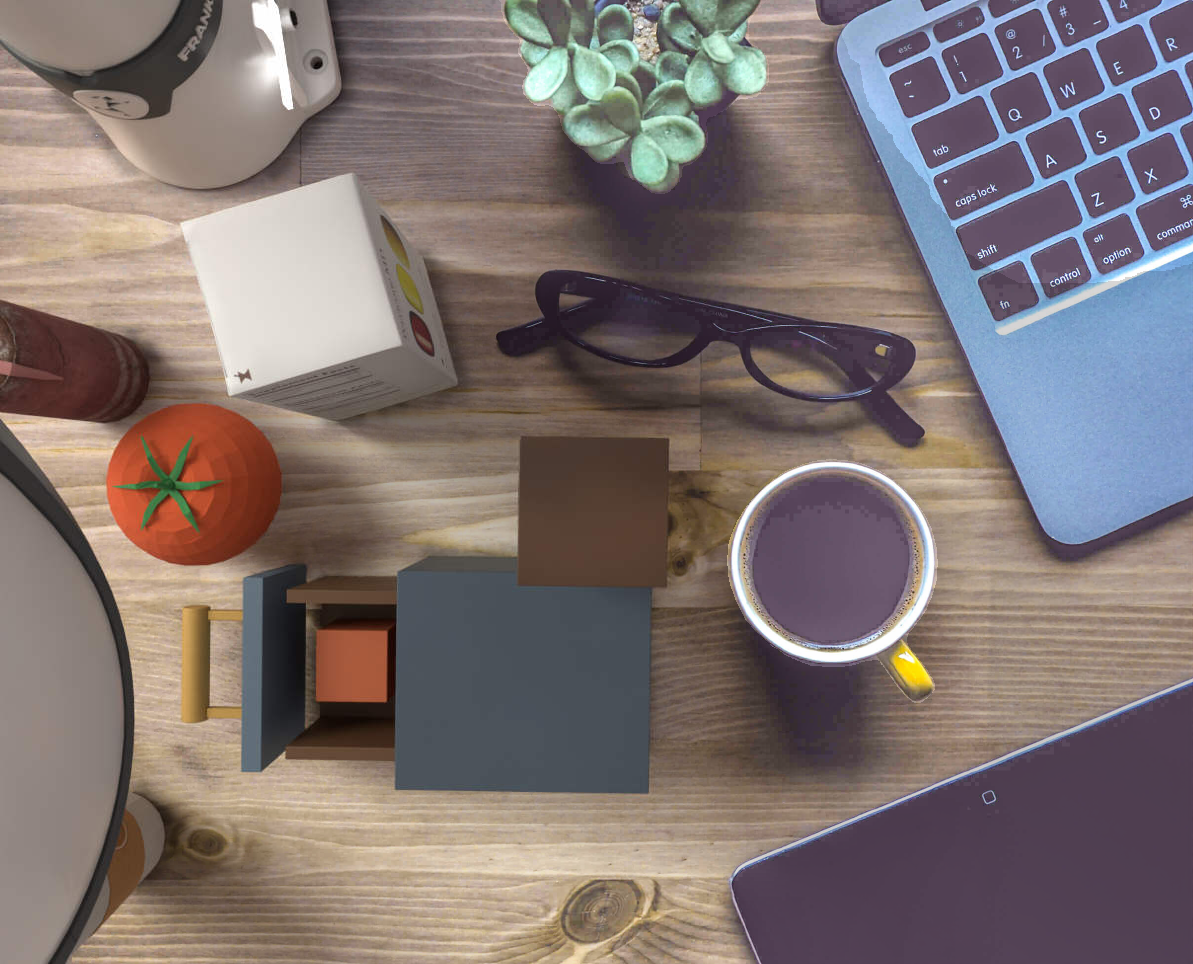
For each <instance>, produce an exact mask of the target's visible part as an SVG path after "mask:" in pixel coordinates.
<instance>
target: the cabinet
mask: <svg viewBox="0 0 1193 964" xmlns="http://www.w3.org/2000/svg"><path fill="white" fill-rule="evenodd" d="M517 557H518V556H480V555H479V556H477V555H475V556H474V555H473V556H470V555H469V556H468V555H429V556H427V557H424V558H422V559H420V560H418V561H416V562H414V563H412V564H410V565H408V566H406V567H403V568H402V569H399V570H397V571H396V576H397V629H396V715H395V761H394V790H395V791H431V792H432V791H433V792H434V791H435V792H436V791H437V792H439V791H440V792H443V791H444V792H496V793H497V792H500V793H558V794H559V793H562V794H563V793H565V794H566V793H567V794H569V793H570V794H623V795H624V794H625V795H626V794H627V795H628V794H631V795H634V794H635V795H648V794H649V793H650V743H651V741H650V738H651V737H650V736H651V735H650V734H651V680H652V679H651V677H652V675H651V672H652V670H651V668H652V665H651V664H652V608H653V607H652V603H653V600H652V599H653V598H652V597H653V588H637V587H567V586H518V585H517Z"/></svg>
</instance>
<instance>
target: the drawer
mask: <svg viewBox="0 0 1193 964" xmlns="http://www.w3.org/2000/svg"><path fill="white" fill-rule="evenodd" d="M307 578H308V565H307V563H288V564H284V565H282V566H277V567H274V568H271V569H268V570H263V571H260V572H257V573H254V574H249V575H247V576H244V577H242V609H212V607H211V606H210V605H208V604H191V605H185V606H182V608H181V689H180V691H181V696H180V697H181V698H180V699H181V701H180V702H181V703H180V705H181V706H180V710H181V711H180V720H181V721H180V722H182V723H185V724H197V723H203V722H206V721H208V720H209V719H241V727H240V728H241V730H240V731H241V732H240V733H241V734H240V736H241V737H240V739H241V741H240V742H241V743H240V745H241V746H240V747H241V748H240V757H241V758H240V760H241V761H240V772H241V773H262V772H263V771H264V770H266V769H267V768H269V766H270V765H271V764H273V762H275V761H276V760H277V759H278V758H279V757H280V756H281V755H282V754H285V755H284V757H285V760H293V761H295V760H299V761H301V760H302V761H308V760H309V761H354V762H355V761H359V762H364V761H365V762H367V761H368V762H395V715H396V693H395V694H394V696H393V697H392V698H391V699H390V700H389V701H388V702H387V703H379V702H319V717H318V718H317V719H316V720H314V721H313V722H312V723H311V724H310V725H308V727H306V683H307V680H306V678H307V675H306V674H307V671H306V670H307V604H318V605H319V604H320V615H321V616H320V628H321V627H323V626H325V625H327V624H329V623H331V622H332V621H334V620H336V619H338V618H345V619H397V575H395V576H391V575H390V576H389V575H388V576H387V575H384V576H383V575H329V574H327V575H323V576H320V577H318V578H315V579H311V580H309V581H308V579H307ZM211 621H221V622H222V621H224V622H225V621H227V622H229V621H230V622H231V621H232V622H242V628H241V629H242V632H241V633H242V634H241V635H242V637H241V638H242V641H241V642H242V644H241V647H242V649H241V706H238V705H237V706H235V705H234V706H233V705H232V706H230V705H229V706H227V705H211V626H212V625H211V624H212V623H211Z"/></svg>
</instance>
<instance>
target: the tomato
mask: <svg viewBox="0 0 1193 964" xmlns="http://www.w3.org/2000/svg"><path fill="white" fill-rule="evenodd" d="M282 473H283V472H282V470H281V465H280V461H279V458H278V456H277V454H276V451H275V449H274V446H273V444H272V443H271V442H270V441H269V439H268V438H267V437H266V434H264V432H263V431H262V430H261V429H260V428H258V426H256V425H255V424H254V422H252V421H251V420H249V419H248V418H246V417H244V416H243V415H241V414H240V413H238V412H236V411H233V410H231V409H228V408H225V407H223V406H220V405H217V404H211V403H205V402H190V403H189V402H186V403H178V404H173V405H168V406H164V407H162V408H160V409H158V410H155V411H153V412H151V413H149V414H147V415H146V416H144V417H143V418H141V419H140V420H139V421H137V422H136V423H135V424H133V425H132V426H130V428H129V429H128V430H127V432H125V433H124V435H123V436H122V437H121V438H120V440H119V441H118V443H117V445H116V446H115V447H114V449H113V452H112V455H111V458H110V460H109V463H108V466H107V474H106V496H107V501H108V504H109V509H110V512H111V514H112V516H113V519H114V521H115V524H117V526H118V527H119V529H120V530H121V532H122V534H124V536H125V537H126V538H127V539H128V540H129V541H130V542H131V543H132V544H134V546H136V547H137V548H139V549H140V550H142V551H143V552H145V553H146V554H148V555H150V556H151V557H153V558H155V559H158V560H160V561H163V562H166V563H169V564H173V565H180V566H185V567H199V566H201V567H202V566H210V565H211V566H212V565H216V564H220V563H224V562H226V561H228V560H230V559H232V558H235V557H238V556H239V555H241V554H244V552H246V551H247V550H249V549H251V548H252V547H253V546H255V545H256V544H257V543H258V542H259V541H260V539H262V538H263V536H264V535H265V534H266V533H267V532H268V530H269V528H270V527H271V525H272V524H273V522H274V520H275V518H276V515H277V514H278V513H277V512H278V510H279V507H280V504H281V499H282V494H283V493H282V492H283V474H282Z"/></svg>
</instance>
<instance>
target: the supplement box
mask: <svg viewBox="0 0 1193 964" xmlns="http://www.w3.org/2000/svg"><path fill="white" fill-rule="evenodd" d="M179 226H180V229H181V233H182V235H183V238H184V241H185V244H186V247H187V251H188V254H189V257H190V259H191V262H192V266H193V269H194V272H195V273H194V274H195V275H196V279H197V282H198V285H199V289H200V292H201V296H202V298H203V302H204V305H205V309H206V312H207V315H208V319H209V322H210V326H211V329H212V334H213V338H214V341H215V346H216V349H217V352H218V356H219V360H220V364H221V368H222V371H223V376H224V380H225V384H226V390H227V394H228V396H229V397H231V398H234V399H238V400H243V401H248V402H252V403H256V404H260V405H264V406H269V407H273V408H278V409H283V410H287V411H291V412H294V413H298V414H304V415H308V416H311V417H314V418H315V417H316V418H321V419H324V420H328V421H333V422H336V421H337V422H338V421H340V420H345V419H348V418H352V417H356V416H359V415H362V414H367V413H369V412H373V411H377V410H380V409H383V408H387V407H391V406H394V405H397V404H402V403H406V402H408V401H412V400H414V399H419V398H422V397H425V396H428V395H431V394H432V395H433V394H436V393H438V392H442V391H444V390H447V389H450V388H454V387H456V386H458V385H459V380H458V377H457V373H456V370H455V366H454V363H453V359H452V355H451V352H450V347H449V344H448V341H447V337H446V334H445V330H444V326H443V323H442V319H441V316H440V312H439V308H438V305H437V301H436V299H435V295H434V291H433V287H432V285H431V281H430V278H429V274H428V271H427V267H426V264H425V261H424V258H423V256H422V255H421V254H420V253H419V251H418V250H417V249H416V248H415V247H414V246H413V244H412V243H411V242H410V240H409V239H408V238H407V237H406V235H405V234H404V233H403V232H402V230H401V229H400V228H399V227H398V225H397V224H396V223H395V222H394V221H393V219H392V218H391V217H390V216H389V215H388V213H387V212H386V210H385V209H384V208H383V207H382V206H381V205H380V203H379V202H378V201H377V199H376V198H375V197H374V196H373V195H372V193H371V192H370V191H369V189H368V188H367V187H366V186H365V184H364V183H363V182H362V180H360V178H359V177H358V176H357V174H356V173H355V172H353V171H351V172H348V173H345V174H341V175H337V176H334V177H331V178H327V179H322V180H320V181H317V182H313V183H310V184H306V185H303V186H300V187H297V188H293V189H291V190H286V191H283V192H280V193H277V194H273V195H271V196H270V195H269V196H266V197H263V198H259V199H256V200H252V201H249V202H246V203H242V204H239V205H236V206H232V207H228V208H225V209H221V210H219V211H215V212H211V213H208V214H204V215H202V216H198V217H195V218H191V219H188V220H184V221H181V222H180V223H179Z"/></svg>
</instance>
